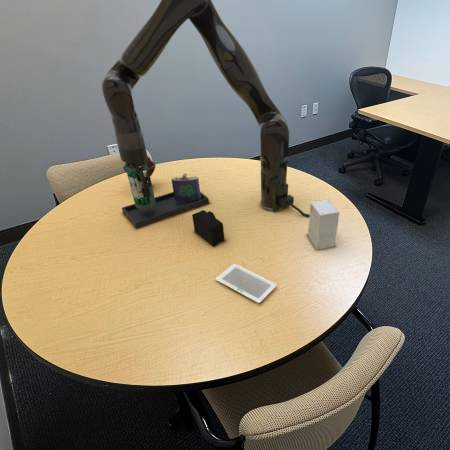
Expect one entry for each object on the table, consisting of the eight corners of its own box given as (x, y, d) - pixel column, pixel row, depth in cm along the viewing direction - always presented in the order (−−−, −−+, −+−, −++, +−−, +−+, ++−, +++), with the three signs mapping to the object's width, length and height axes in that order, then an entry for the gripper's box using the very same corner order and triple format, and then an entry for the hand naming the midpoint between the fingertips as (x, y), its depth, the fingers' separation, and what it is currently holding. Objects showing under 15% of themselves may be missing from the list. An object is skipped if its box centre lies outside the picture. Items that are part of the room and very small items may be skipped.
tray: (209, 203, 124) (208, 198, 122) (136, 229, 108) (135, 223, 107) (193, 190, 131) (192, 185, 129) (123, 213, 115) (121, 207, 114)
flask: (201, 197, 126) (197, 171, 119) (201, 201, 123) (197, 175, 117) (175, 199, 123) (170, 173, 117) (174, 203, 121) (169, 176, 115)
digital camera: (228, 239, 106) (226, 221, 102) (213, 246, 103) (211, 228, 99) (209, 225, 112) (206, 208, 108) (194, 232, 109) (192, 214, 105)
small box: (335, 246, 106) (340, 212, 99) (316, 250, 104) (320, 215, 97) (324, 232, 113) (328, 198, 105) (307, 235, 111) (310, 201, 103)
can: (131, 206, 112) (120, 165, 103) (145, 198, 116) (135, 158, 108) (146, 211, 110) (136, 169, 101) (159, 202, 115) (150, 162, 106)
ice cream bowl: (150, 196, 125) (141, 159, 117) (123, 192, 127) (112, 155, 118) (165, 183, 134) (158, 148, 125) (139, 179, 135) (131, 144, 127)
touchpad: (234, 266, 96) (234, 260, 95) (277, 287, 90) (277, 282, 89) (215, 281, 91) (214, 276, 90) (259, 306, 85) (259, 300, 83)
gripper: (153, 149, 99) (163, 197, 108) (134, 134, 107) (145, 181, 117) (127, 154, 95) (140, 205, 104) (109, 139, 103) (123, 187, 113)
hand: (142, 192), depth 110 cm, fingers closed on can, 6 cm apart
